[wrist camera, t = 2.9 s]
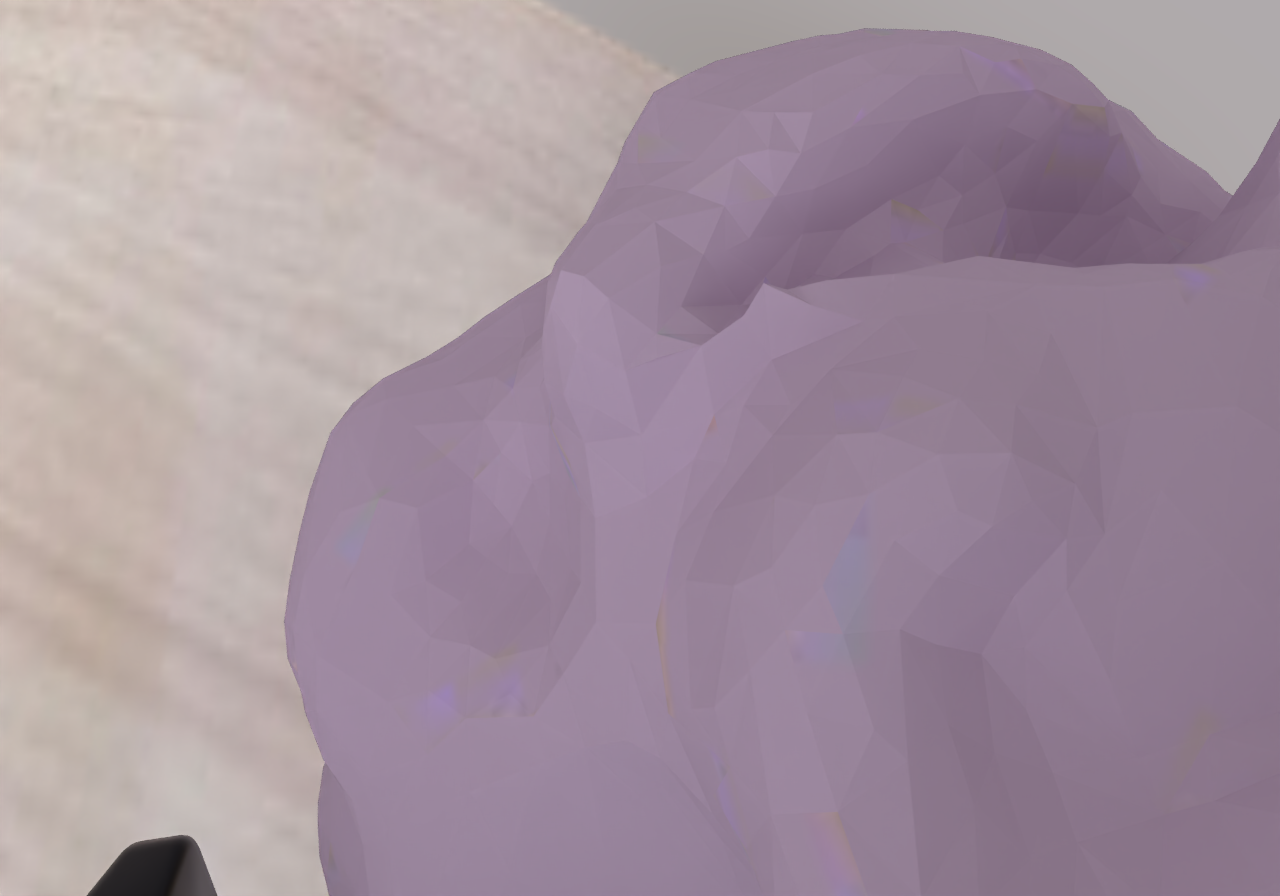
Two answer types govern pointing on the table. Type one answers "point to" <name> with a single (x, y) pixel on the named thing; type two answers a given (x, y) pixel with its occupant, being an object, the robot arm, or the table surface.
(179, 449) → the table surface
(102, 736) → the table surface
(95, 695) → the table surface
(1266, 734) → the ice cream cone
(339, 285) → the table surface
